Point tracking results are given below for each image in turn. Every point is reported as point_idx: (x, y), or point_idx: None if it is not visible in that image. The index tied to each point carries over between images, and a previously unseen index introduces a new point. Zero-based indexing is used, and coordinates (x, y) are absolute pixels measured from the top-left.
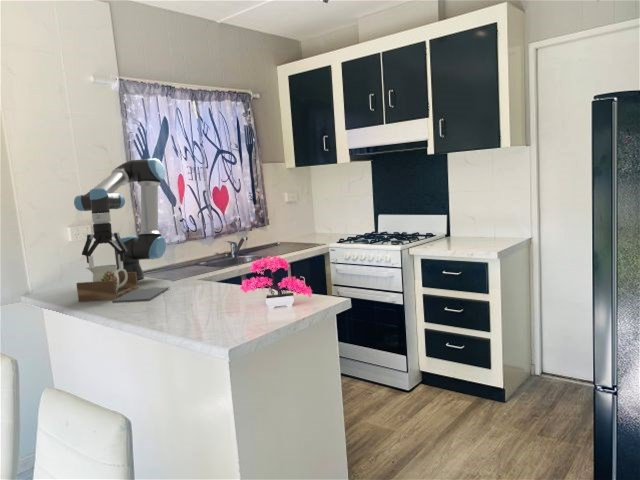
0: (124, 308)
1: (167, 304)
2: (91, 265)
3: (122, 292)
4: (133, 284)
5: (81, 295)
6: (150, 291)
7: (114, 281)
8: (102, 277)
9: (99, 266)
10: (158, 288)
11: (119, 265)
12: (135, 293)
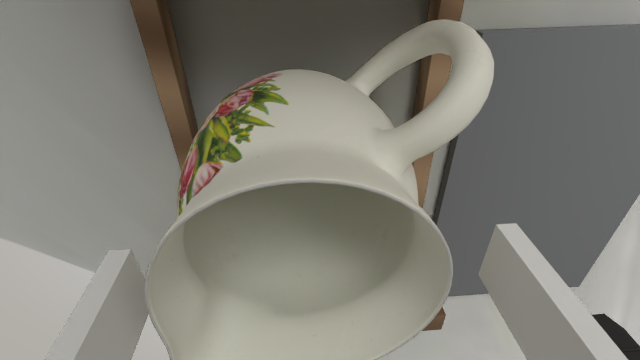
0: (488, 349)
1: (627, 326)
2: (127, 346)
3: (426, 185)
4: None
5: None
6: (593, 148)
7: (441, 318)
8: (325, 291)
9: (166, 240)
10: None
11: (505, 306)
12: (503, 183)
